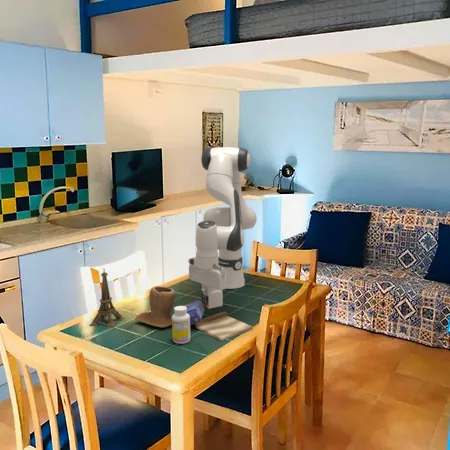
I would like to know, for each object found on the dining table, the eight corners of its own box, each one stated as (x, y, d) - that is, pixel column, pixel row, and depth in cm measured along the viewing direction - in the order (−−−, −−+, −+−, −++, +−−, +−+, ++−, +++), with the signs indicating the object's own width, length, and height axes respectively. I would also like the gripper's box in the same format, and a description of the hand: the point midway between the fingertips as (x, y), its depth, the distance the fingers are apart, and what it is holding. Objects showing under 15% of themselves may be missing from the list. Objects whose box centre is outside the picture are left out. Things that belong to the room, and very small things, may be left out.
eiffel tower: (113, 328, 198) (109, 267, 193) (89, 326, 201) (85, 266, 196) (124, 318, 208) (121, 260, 203) (101, 316, 211) (97, 259, 206)
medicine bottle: (201, 303, 224) (200, 278, 221) (215, 301, 227) (215, 275, 225) (208, 309, 218) (207, 282, 215) (222, 306, 221) (222, 280, 218)
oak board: (194, 327, 198) (194, 321, 198) (224, 317, 208) (224, 311, 208) (221, 340, 186) (221, 334, 185) (252, 328, 196) (252, 322, 196)
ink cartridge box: (199, 298, 205) (194, 312, 191) (205, 309, 206) (200, 324, 192) (178, 306, 207) (171, 321, 193) (184, 318, 208) (177, 333, 194)
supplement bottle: (177, 335, 191) (176, 303, 188) (193, 338, 188) (192, 305, 186) (169, 342, 184) (168, 309, 182) (185, 345, 182) (184, 312, 180)
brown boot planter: (182, 322, 204) (181, 287, 201) (162, 332, 194) (161, 295, 191) (154, 314, 212) (153, 280, 209) (134, 323, 203) (132, 288, 200)
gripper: (230, 265, 193) (230, 300, 196) (198, 255, 209) (198, 287, 211) (218, 269, 189) (218, 303, 192) (185, 258, 204) (186, 290, 207)
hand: (207, 295), depth 202 cm, fingers closed
